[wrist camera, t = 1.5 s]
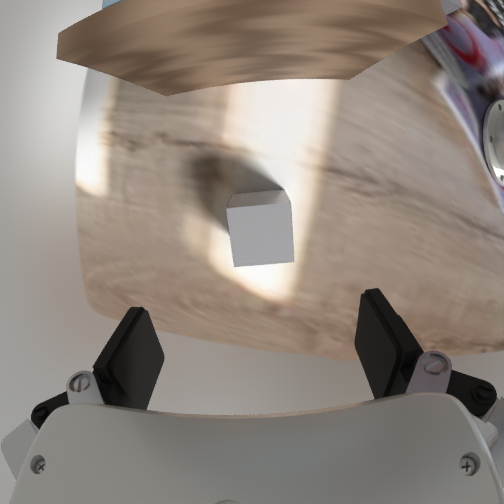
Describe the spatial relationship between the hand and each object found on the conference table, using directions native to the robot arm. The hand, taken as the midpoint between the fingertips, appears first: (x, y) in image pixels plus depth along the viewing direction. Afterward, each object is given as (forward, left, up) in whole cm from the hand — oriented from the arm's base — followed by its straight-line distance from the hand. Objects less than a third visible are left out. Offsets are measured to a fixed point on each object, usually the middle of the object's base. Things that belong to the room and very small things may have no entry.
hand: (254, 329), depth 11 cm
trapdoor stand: (-1, -23, -17) cm, 29 cm away
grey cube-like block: (0, 0, -17) cm, 17 cm away
